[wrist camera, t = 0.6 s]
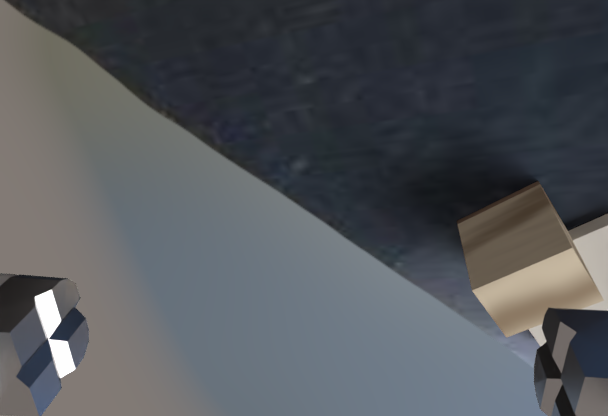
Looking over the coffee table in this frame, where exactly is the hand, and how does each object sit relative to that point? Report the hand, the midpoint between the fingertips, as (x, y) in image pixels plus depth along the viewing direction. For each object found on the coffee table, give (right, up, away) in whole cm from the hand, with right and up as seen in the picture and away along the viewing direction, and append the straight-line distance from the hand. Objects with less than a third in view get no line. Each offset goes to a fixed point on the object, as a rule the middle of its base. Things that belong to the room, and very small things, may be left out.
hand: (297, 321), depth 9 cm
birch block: (+20, 0, +41) cm, 45 cm away
